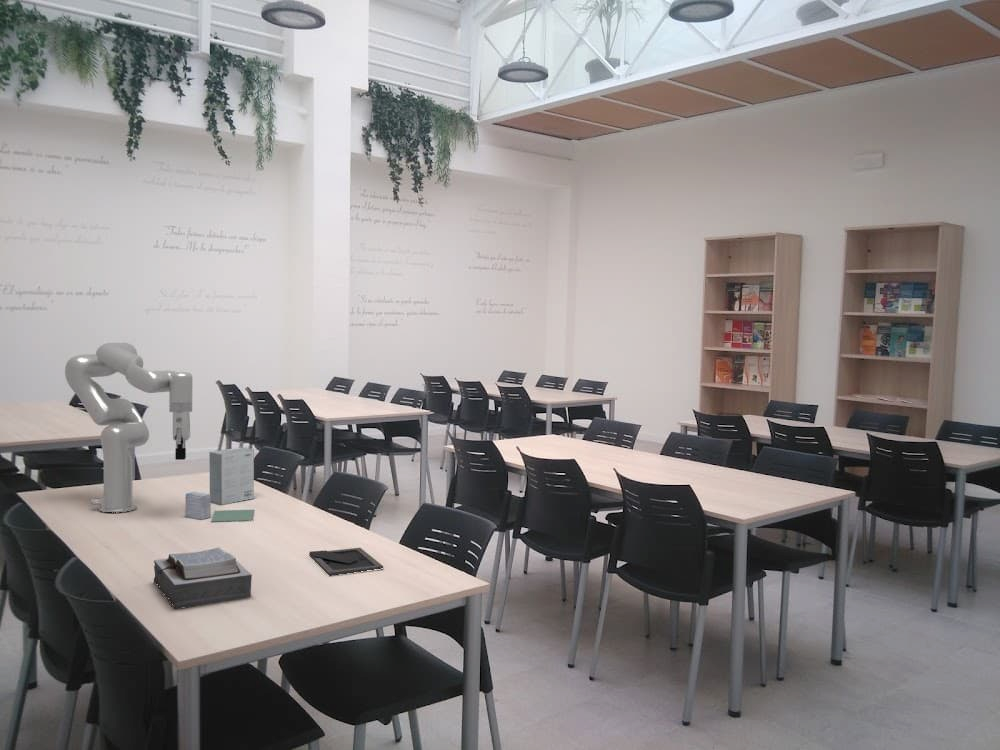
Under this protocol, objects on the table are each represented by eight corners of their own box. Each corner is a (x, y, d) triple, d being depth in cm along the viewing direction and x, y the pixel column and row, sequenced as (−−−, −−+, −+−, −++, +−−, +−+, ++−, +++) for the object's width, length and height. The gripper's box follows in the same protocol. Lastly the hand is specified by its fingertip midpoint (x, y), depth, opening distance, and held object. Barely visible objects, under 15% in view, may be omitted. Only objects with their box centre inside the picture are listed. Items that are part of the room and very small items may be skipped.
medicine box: (211, 517, 287) (211, 493, 286) (201, 520, 283) (201, 495, 282) (194, 514, 290) (194, 491, 289) (184, 517, 286) (185, 493, 285)
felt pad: (211, 522, 280) (211, 521, 280) (214, 511, 295) (214, 510, 295) (253, 521, 284) (253, 519, 283) (254, 510, 299) (254, 509, 299)
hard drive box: (242, 496, 322) (243, 447, 321) (254, 499, 318) (255, 449, 317) (208, 502, 310) (209, 451, 309) (220, 505, 305) (221, 453, 304)
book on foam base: (152, 613, 194) (153, 573, 193) (152, 579, 219) (152, 543, 218) (253, 602, 203) (253, 564, 203) (242, 571, 228) (242, 537, 227)
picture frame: (309, 558, 243) (329, 578, 225) (309, 551, 243) (329, 571, 225) (359, 552, 251) (383, 571, 233) (360, 546, 251) (383, 564, 232)
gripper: (189, 409, 276) (189, 462, 277) (194, 405, 290) (194, 455, 291) (166, 409, 274) (166, 463, 275) (172, 405, 288) (171, 456, 290)
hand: (180, 459), depth 283 cm, fingers closed
